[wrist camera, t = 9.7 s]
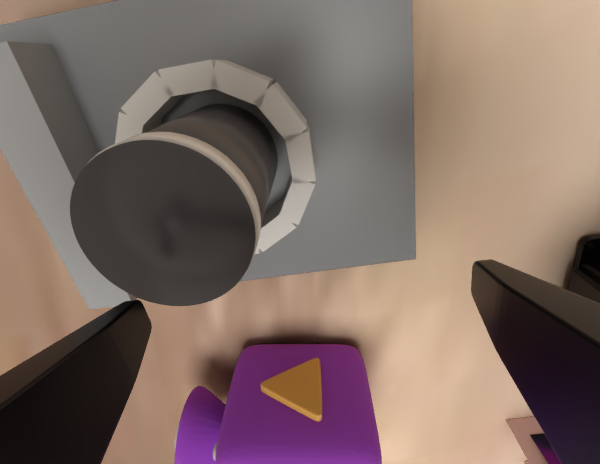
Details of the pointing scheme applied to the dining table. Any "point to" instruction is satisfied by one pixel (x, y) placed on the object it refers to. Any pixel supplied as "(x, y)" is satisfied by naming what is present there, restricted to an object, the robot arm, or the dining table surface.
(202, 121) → the lens
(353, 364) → the toy camera
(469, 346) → the dining table surface
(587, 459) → the robot arm
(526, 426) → the purple printed box
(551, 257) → the dining table surface
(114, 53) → the mount
